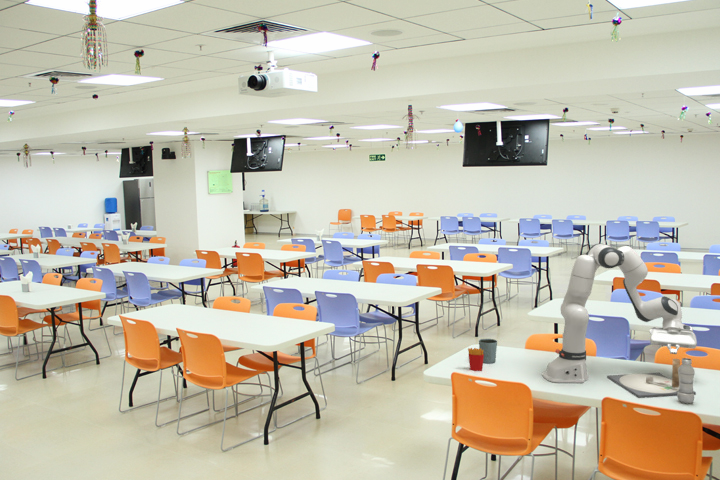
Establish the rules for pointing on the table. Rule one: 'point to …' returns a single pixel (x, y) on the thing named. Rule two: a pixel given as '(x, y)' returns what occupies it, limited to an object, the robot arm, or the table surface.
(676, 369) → the needle lever
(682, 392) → the plastic bottle
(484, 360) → the grey bucket
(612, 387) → the table surface
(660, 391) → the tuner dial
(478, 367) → the french fries
